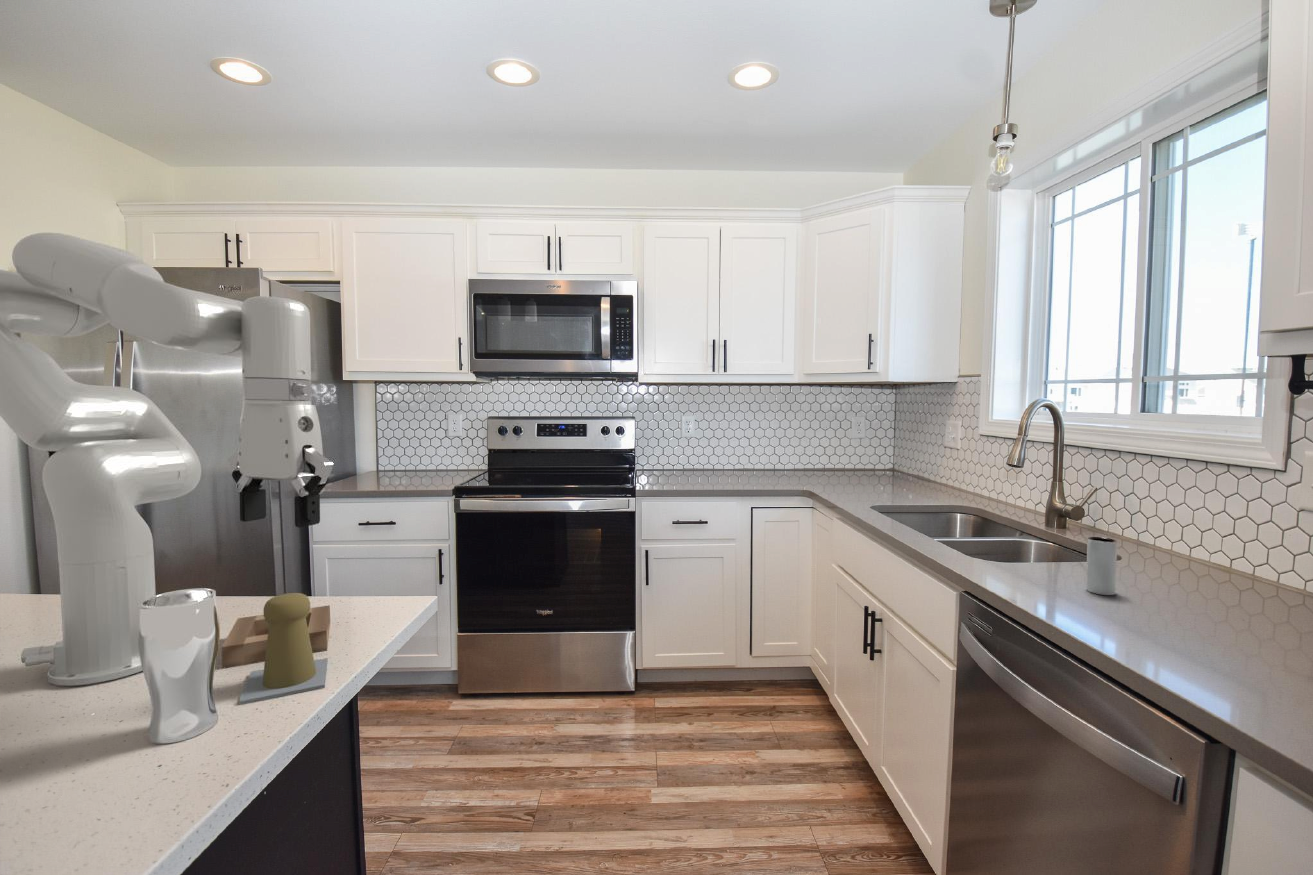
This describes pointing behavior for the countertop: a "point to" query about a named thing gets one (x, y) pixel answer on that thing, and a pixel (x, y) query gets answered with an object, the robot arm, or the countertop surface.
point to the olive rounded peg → (287, 642)
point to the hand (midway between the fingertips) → (280, 522)
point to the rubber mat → (259, 692)
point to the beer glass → (179, 662)
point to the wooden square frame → (252, 636)
